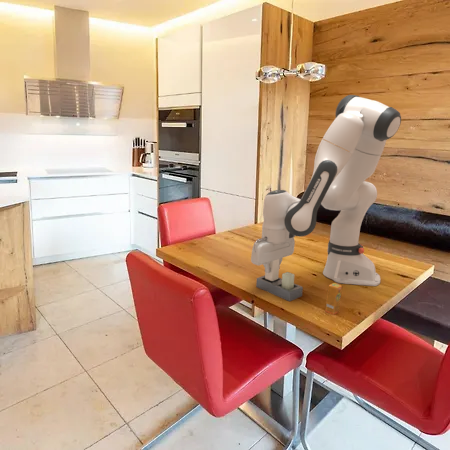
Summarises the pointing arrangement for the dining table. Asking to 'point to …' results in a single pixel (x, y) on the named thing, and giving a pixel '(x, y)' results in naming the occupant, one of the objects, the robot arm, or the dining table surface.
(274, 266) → the block
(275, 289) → the grey peg holder
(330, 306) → the supplement box
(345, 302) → the dining table surface
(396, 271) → the dining table surface
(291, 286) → the beige peg
